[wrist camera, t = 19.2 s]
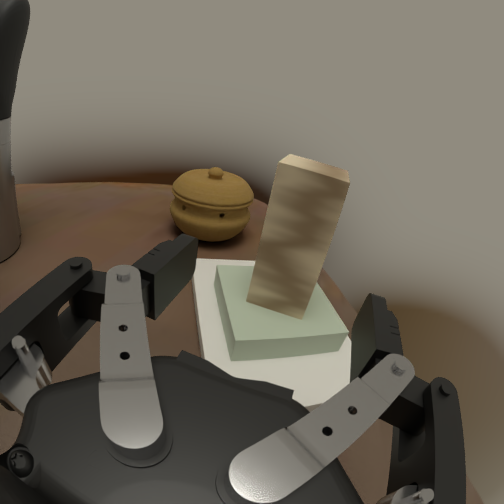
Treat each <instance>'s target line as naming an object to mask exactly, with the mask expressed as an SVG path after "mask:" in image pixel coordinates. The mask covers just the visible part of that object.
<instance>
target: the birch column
mask: <svg viewBox="0 0 504 504" xmlns="http://www.w3.org/2000/svg"><path fill="white" fill-rule="evenodd" d="M349 185H350V180H349V175H348V171H346V170H343V169H340V168H337V167H334V166H330V165H327V164H324V163H320V162H317V161H314V160H310V159H307V158H303V157H299V156H295V155H292V154H290V155H288V156H286V157H285V158H283V159H282V160H281V161H279V162H278V165H277V170H276V174H275V179H274V183H273V187H272V192H271V196H270V201H269V205H268V209H267V213H266V218H265V222H264V226H263V231H262V235H261V239H260V244H259V248H258V252H257V256H256V261H255V265H254V269H253V274H252V278H251V282H250V286H249V291H248V295H247V299H246V302H249V303H252V304H255V305H258V306H261V307H263V308H266V309H269V310H272V311H276V312H279V313H282V314H285V315H288V316H291V317H294V318H297V319H300V320H302V318H303V316H304V313H305V311H306V308H307V306H308V303H309V300H310V298H311V295H312V293H313V290H314V287H315V285H316V282H317V279H318V277H319V274H320V271H321V269H322V266H323V263H324V260H325V258H326V255H327V252H328V249H329V246H330V243H331V240H332V237H333V235H334V231H335V228H336V226H337V223H338V220H339V217H340V213H341V210H342V207H343V204H344V201H345V198H346V195H347V191H348V188H349Z"/></svg>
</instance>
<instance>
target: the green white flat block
mask: <svg viewBox="0 0 504 504" xmlns="http://www.w3.org/2000/svg"><path fill="white" fill-rule="evenodd" d="M254 265H255V261H244V260H220V259H196V268H195V272H194V275H193V277H192V286H193V295H194V304H195V312H196V320H197V328H198V335H199V343H200V350H201V356H202V358H203V359H205V360H208V361H209V362H211V363H212V364H214V365H216V366H217V367H219V368H220V369H222V370H223V371H225V372H226V373H228V374H230V375H231V376H233V377H236V378H242V379H250V380H258V381H266V382H269V383H272V384H276V385H279V386H282V387H285V388H289V389H292V390H294V392H293V396H292V399H294V400H296V401H297V402H299V403H300V404H302V405H303V406H304V407H305V408H306V409H307V410H308V411H309V412H311V411H313V410H314V409H316V408H317V407H319V406H320V405H321V404H323V403H324V402H326V401H327V400H328V399H330V398H331V397H332V396H334V395H335V394H336V393H338V392H339V391H340V390H342V389H343V388H344V387H345V386H347V385H348V384H349V383H350V367H351V340H350V339H349V337H348V336H347V335H348V333H349V331H348V330H347V328H346V326H345V325H344V323H343V322H342V320H341V319H340V317H339V315H338V314H337V312H336V311H335V309H334V308H333V306H332V305H331V303H330V302H329V300H328V298H327V297H326V295H325V294H324V292H323V291H322V289H321V288H320V286H319V285H318V283H317V282H316V285H315V287H314V290H313V293H312V295H311V298H310V300H309V303H308V306H307V308H306V311H305V313H304V316H303V318H302V320H300V319H297V318H294V317H291V316H288V315H285V314H282V313H279V312H276V311H272V310H269V309H266V308H263V307H261V306H258V305H255V304H252V303H249V302H246V299H247V295H248V291H249V286H250V282H251V278H252V274H253V269H254Z"/></svg>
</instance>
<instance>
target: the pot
mask: <svg viewBox="0 0 504 504" xmlns="http://www.w3.org/2000/svg"><path fill="white" fill-rule="evenodd" d="M172 193H173V195H174V196H175V199H174V200H173V201H172V202H171V204H170V212H171V215H172V217H173V220H174V222H175V224H176V225H177V226H178V228H179V229H180V230H181V231H182V232H184V233H185V234H187V235H189V236H192V237H195V238H197V239H198V240H203V241H212V242H214V241H223V240H227V239H230V238H232V237H234V236H236V235H237V234H238V233H240V232H241V231H242V230H243V229H244V227H245V226H246V225H247V223H248V222H249V220H250V212H249V210H248V206H250V205H251V204H252V203H253V196H254V195H253V192H252V190H251V188H250V187H249V185H248V184H247V182H246V181H245V180H244V179H242V178H241V177H239V176H237V175H235V174H232V173H229V172H225V171H222V170H221V169H220V168H217V167H213V168H211V169H195V170H191V171H188V172H186V173H184V174H182V175H181V176H180V177H179V178H178V179H177V180H176V181H175V182H174V183H173V187H172Z"/></svg>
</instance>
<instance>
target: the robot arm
mask: <svg viewBox="0 0 504 504" xmlns="http://www.w3.org/2000/svg"><path fill="white" fill-rule="evenodd" d="M29 19H30V5H29V2H28V0H0V262H1V261H3V260H5V259H7V258H8V257H10V256H11V255H12V254H13V253H14V252H15V251H16V250H17V249H18V247H19V245H20V237H19V236H20V235H21V229H20V223H19V216H18V208H17V200H16V190H15V178H14V173H13V171H11V144H10V143H11V141H10V135H11V109H12V102H13V97H14V93H15V88H16V81H17V74H18V69H19V63H20V59H21V54H22V51H23V47H24V43H25V39H26V35H27V30H28V25H29ZM197 250H198V239H197V238H195V237H192V236H189V235H186V234H181V235H179V236H178V237H177V238H176V239H174V240H173V241H171V240H168V241H165V242H162V243H160V244H158V245H157V246H156V247H154V248H153V249H152V250H151V251H149V252H148V254H145V255H144V256H143V257H142V258H140V259H139V260H138V261H137V262H135V263H134V264H133V265H131V266H130V265H118V266H115V267H113V268H111V269H110V270H109V271H108V272H107V273H106V272H100V271H94V270H92V263H91V261H90V260H89V259H87V258H84V257H74V258H70V259H68V260H66V261H65V262H63V263H62V264H61V265H59V266H58V267H57V268H55V269H54V270H53V271H51V272H50V273H49V274H48V275H46V276H45V277H44V278H42V279H41V280H40V281H39V282H37V283H36V284H35V285H34V286H32V287H31V288H30V289H29V290H27V291H26V292H25V293H24V294H22V295H21V296H20V297H19V298H18V299H16V300H15V301H14V302H13V303H12V304H11V305H9V306H8V307H7V308H6V309H5V310H4V311H3V312H1V313H0V403H1V404H2V405H3V406H4V407H5V408H6V409H8V410H10V411H16V412H17V413H19V414H20V415H21V416H22V417H23V421H22V425H21V429H20V432H19V435H18V437H17V439H16V442H15V443H14V445H13V446H12V447H11V448H10V449H9V450H8V451H6V452H5V453H3V454H1V455H0V504H364V503H363V501H362V500H361V498H360V496H359V495H358V493H357V491H356V489H355V488H354V486H353V484H352V483H351V481H350V479H349V477H348V476H347V474H346V472H345V470H344V469H343V467H342V465H341V463H340V462H339V460H338V458H337V457H338V456H339V455H340V454H341V453H342V452H343V451H344V450H345V449H347V448H348V447H349V446H350V445H351V444H352V443H353V442H354V441H355V440H356V439H357V438H359V437H360V436H361V435H362V434H363V433H364V432H365V431H366V430H367V429H368V428H369V427H370V426H371V425H372V424H373V423H374V422H375V421H376V420H377V419H378V418H379V419H381V420H383V421H385V422H387V423H389V424H391V425H393V437H392V451H391V462H390V471H389V479H388V487H387V494H386V496H384V497H382V498H381V499H380V500H379V501H378V502H377V503H376V504H466V468H465V450H464V439H463V428H462V420H461V413H460V406H459V400H458V395H457V390H456V388H455V387H454V385H453V384H452V383H451V382H450V381H449V380H447V379H445V378H442V377H438V378H435V379H434V380H433V381H432V382H431V383H430V384H429V383H427V382H425V381H423V380H422V379H420V378H418V377H416V376H415V371H414V367H413V365H412V364H411V362H410V361H409V360H408V359H407V358H405V357H404V356H403V350H402V344H401V338H400V332H399V326H398V322H397V319H396V317H395V316H394V314H393V313H392V311H388V310H387V305H386V300H385V298H384V297H381V296H377V295H374V294H371V293H370V294H369V295H368V296H367V297H366V300H365V301H364V304H363V305H362V307H361V309H360V311H359V313H358V315H357V317H356V319H355V321H354V324H353V327H352V336H351V367H350V383H349V384H348V385H347V386H345V387H344V388H343V389H342V390H340V391H339V392H338V393H336V394H335V395H334V396H332V397H331V398H330V399H328V400H327V401H326V402H324V403H323V404H321V405H320V406H319V407H317V408H316V409H314V410H313V411H311V412H309V411H308V410H307V409H306V408H305V407H304V406H303V405H302V404H300V403H299V402H297V401H296V400H294V399H292V396H293V392H294V390H292V389H289V388H285V387H282V386H279V385H276V384H272V383H269V382H266V381H258V380H250V379H242V378H236V377H233V376H231V375H230V374H228V373H226V372H225V371H223V370H222V369H220V368H219V367H217V366H216V365H214V364H212V363H211V362H209V361H208V360H205V359H203V358H200V357H198V356H195V355H193V354H190V353H188V352H186V351H183V350H182V351H181V352H180V354H179V355H178V357H173V356H154V357H150V351H149V344H148V337H147V330H146V322H145V317H146V316H147V317H149V318H151V319H153V320H156V319H157V317H158V316H159V315H160V314H161V313H162V312H163V311H164V309H165V308H166V307H167V306H168V305H169V304H170V302H171V301H172V300H173V299H174V298H175V297H176V296H177V294H178V293H179V292H180V291H181V290H182V289H183V288H184V287H185V285H186V284H187V283H188V282H189V281H190V280H191V278H192V277H193V275H194V272H195V268H196V259H197ZM68 300H69V304H70V306H69V307H67V308H66V309H65V310H64V311H63V312H62V313H61V314H60V315H59V316H58V312H59V309H60V308H61V307H62V306H63V305H64V304H65V303H66V302H67V301H68ZM96 321H99V322H101V326H100V372H97V373H93V374H90V375H86V376H82V377H78V378H74V379H70V380H66V381H62V382H58V383H54V384H50V383H51V380H52V371H53V370H54V369H55V367H56V366H57V365H58V364H59V363H60V362H61V360H62V359H63V358H64V357H65V356H66V355H67V354H68V352H69V351H70V350H71V349H72V348H73V347H74V346H75V345H76V343H77V342H78V341H79V340H80V339H81V338H82V337H83V336H84V335H85V333H86V332H87V331H88V330H89V329H90V328H91V327H92V326H93V325H94V324H95V323H96Z"/></svg>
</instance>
